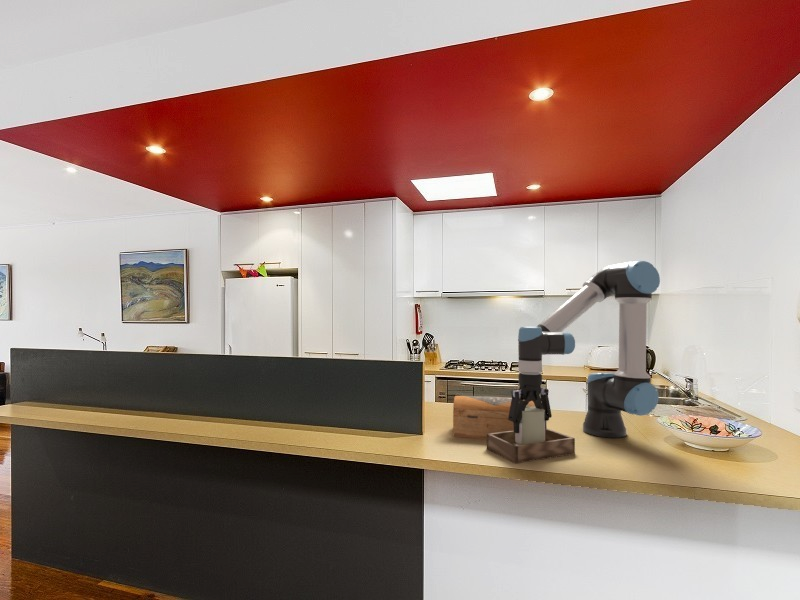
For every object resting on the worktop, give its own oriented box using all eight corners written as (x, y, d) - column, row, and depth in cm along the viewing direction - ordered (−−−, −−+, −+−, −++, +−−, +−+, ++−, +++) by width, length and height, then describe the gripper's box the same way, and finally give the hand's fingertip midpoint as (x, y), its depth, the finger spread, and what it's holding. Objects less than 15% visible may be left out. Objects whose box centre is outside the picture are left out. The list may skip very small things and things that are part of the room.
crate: (542, 440, 153) (542, 426, 153) (574, 453, 140) (574, 438, 140) (486, 448, 144) (486, 433, 144) (515, 463, 130) (515, 446, 130)
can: (539, 439, 146) (538, 404, 147) (549, 448, 137) (549, 410, 138) (512, 439, 146) (512, 404, 146) (521, 448, 137) (521, 410, 137)
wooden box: (532, 430, 168) (532, 395, 168) (537, 443, 151) (537, 403, 152) (456, 425, 174) (456, 391, 174) (452, 437, 158) (452, 399, 158)
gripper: (547, 369, 150) (547, 434, 150) (496, 373, 142) (496, 441, 141) (563, 372, 143) (563, 440, 143) (511, 376, 135) (511, 448, 134)
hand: (530, 440), depth 142 cm, fingers closed on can, 9 cm apart
